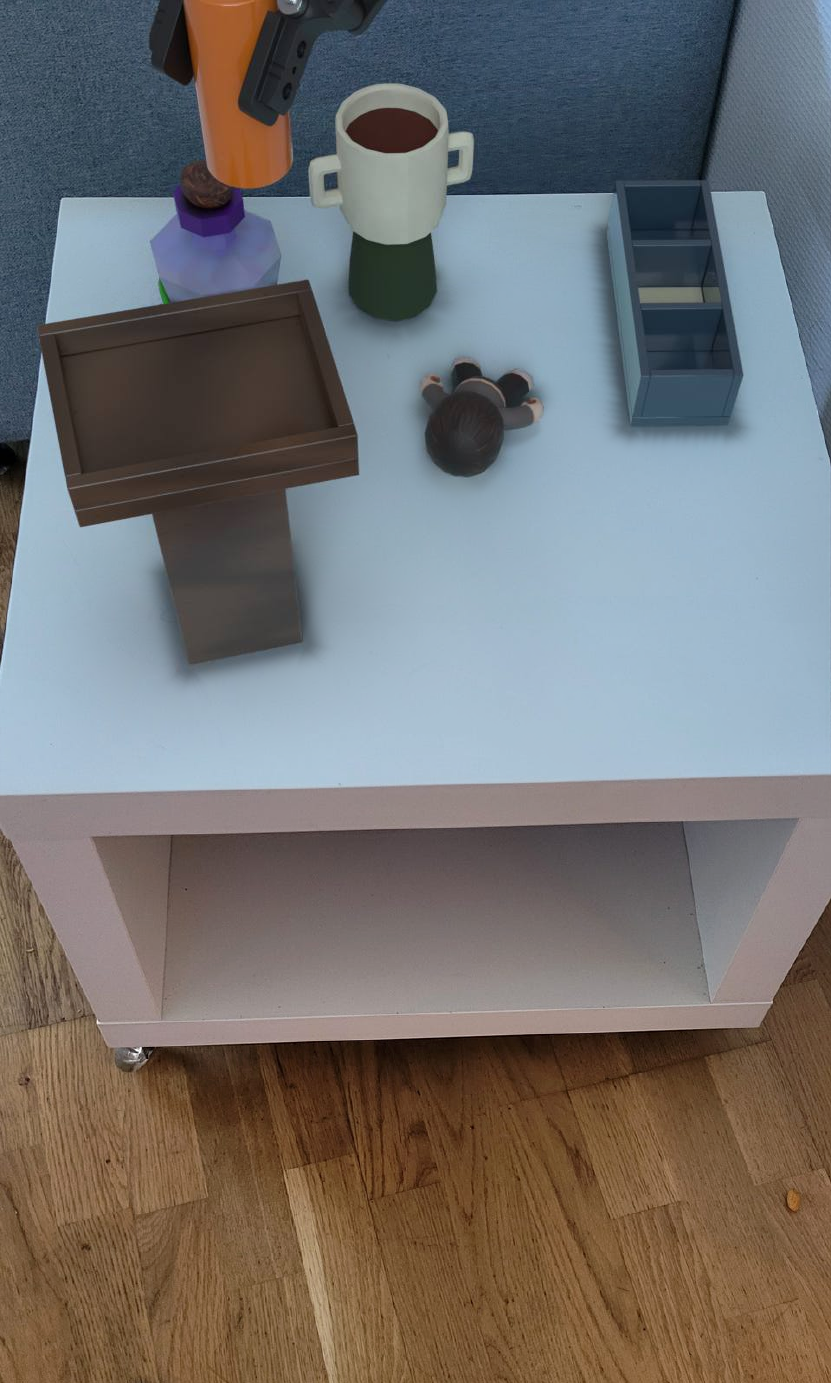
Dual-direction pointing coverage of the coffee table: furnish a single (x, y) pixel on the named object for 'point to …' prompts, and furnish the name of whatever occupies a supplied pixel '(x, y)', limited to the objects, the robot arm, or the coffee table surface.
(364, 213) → the character mug
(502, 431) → the figurine
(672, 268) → the three-compartment dish
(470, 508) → the coffee table surface
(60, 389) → the walnut tray stand
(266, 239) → the potion bottle
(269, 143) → the orange glossy cylinder
